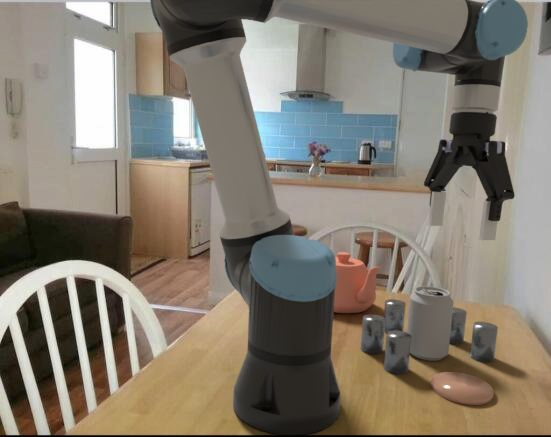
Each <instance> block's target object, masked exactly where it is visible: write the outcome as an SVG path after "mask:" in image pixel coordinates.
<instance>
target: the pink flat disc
mask: <svg viewBox="0 0 551 437" xmlns="http://www.w3.org/2000/svg"><path fill="white" fill-rule="evenodd" d="M430 385H431V388H432V390H433V391H434V392H435V394H437V395H438V396H440V397H441V398H444V399H446V400H447V401H450V402H454V403H457V404H461V405H468V406H481V405H486V404H489V403H491V401H493V398H494V389H493V387H492V385H490V384H489V383H488V382H486V381H485V380H483V379H481V378H480V377H477V376H474V375H471V374H469V373H464V372H458V371H441V372H439V373H435V374H434V375H433V376H432V378H431V384H430Z"/></svg>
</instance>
